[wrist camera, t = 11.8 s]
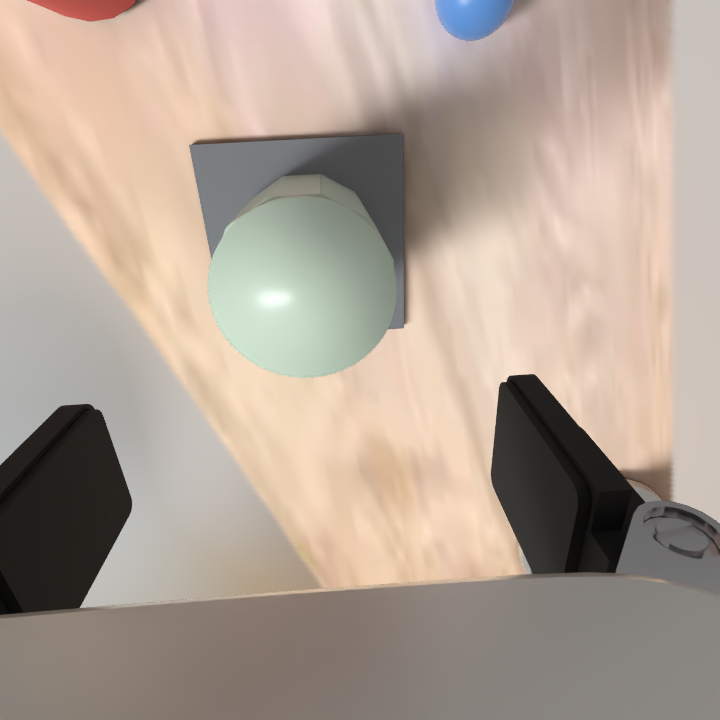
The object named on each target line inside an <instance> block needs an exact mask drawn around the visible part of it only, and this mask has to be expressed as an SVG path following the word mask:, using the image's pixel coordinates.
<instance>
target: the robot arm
mask: <svg viewBox="0 0 720 720" xmlns="http://www.w3.org/2000/svg"><path fill="white" fill-rule="evenodd" d="M491 479H492V484H493V487H494V490H495V492H496V494H497V496H498V499H499V501H500V503H501V505H502V507H503V510H504V512H505V514H506V516H507V518H508V521H509V523H510V525H511V527H512V529H513V532H514V534H515V536H516V538H517V540H518V555H519V559H520V562H521V564H522V566H523V568H524V570H525V572H526V574H522V575H509V576H495V577H478V578H462V579H448V580H434V581H420V582H407V583H393V584H379V585H365V586H351V587H337V588H324V589H311V590H298V591H286V592H273V593H261V594H247V595H234V596H221V597H209V598H197V599H183V600H171V601H160V602H147V603H137V604H136V603H135V604H124V605H112V606H100V607H88V608H80V606H81V604H82V602H83V601H84V599H85V597H86V595H87V593H88V591H89V589H90V588H91V586H92V584H93V582H94V580H95V578H96V576H97V575H98V573H99V571H100V569H101V567H102V565H103V563H104V562H105V560H106V558H107V556H108V554H109V552H110V550H111V549H112V547H113V545H114V543H115V541H116V539H117V537H118V536H119V534H120V532H121V530H122V528H123V526H124V524H125V522H126V521H127V519H128V517H129V515H130V513H131V509H132V499H131V496H130V493H129V490H128V487H127V484H126V481H125V478H124V475H123V472H122V469H121V466H120V464H119V461H118V458H117V455H116V452H115V449H114V446H113V443H112V440H111V437H110V434H109V432H108V429H107V426H106V423H105V420H104V417H103V415H102V413H101V412H100V410H95V409H94V407H93V406H92V405H90V404H81V405H65V406H61V407H59V408H58V409H57V410H56V411H55V412H54V413H53V414H52V415H51V416H50V417H49V418H48V419H47V420H46V421H45V422H44V423H43V424H42V425H41V426H40V427H39V428H38V429H37V430H36V431H35V432H34V433H33V434H32V435H30V437H29V438H27V439H26V440H25V441H24V442H23V443H22V444H21V445H20V446H19V447H18V448H17V449H16V450H15V451H14V452H13V453H12V454H11V455H10V456H9V457H8V458H7V459H6V460H5V461H4V462H3V463H2V464H1V465H0V720H720V524H719V523H718V522H717V521H716V520H714V519H713V518H711V517H709V516H708V515H706V514H705V513H703V512H701V511H699V510H696V509H694V508H691V507H689V506H687V505H683V504H679V503H676V502H671V501H662V499H661V498H660V497H659V496H658V495H657V494H656V493H655V492H654V491H653V490H652V489H651V488H649V487H647V486H645V485H644V484H642V483H639V482H636V481H632V480H629V479H625V478H624V476H623V475H622V474H621V473H620V472H619V471H618V469H617V468H616V467H615V466H614V465H613V464H612V462H611V461H610V460H609V459H608V458H607V456H606V455H605V454H604V453H603V452H602V451H601V449H600V448H599V447H598V446H597V445H596V444H595V442H594V441H593V440H592V439H591V438H590V437H589V435H588V434H587V433H586V432H585V431H584V430H583V429H582V428H581V427H579V426H578V424H577V423H576V422H575V421H574V420H573V419H572V417H571V416H570V415H569V414H568V413H567V411H566V410H565V409H564V408H563V407H562V406H561V404H560V403H559V402H558V401H557V400H556V399H555V397H554V396H553V395H552V394H551V393H550V391H549V390H548V389H547V388H546V387H545V386H544V384H543V383H542V382H541V381H540V380H539V378H538V377H537V376H536V375H534V374H529V375H514V376H509V377H508V379H507V382H502V383H501V384H500V387H499V396H498V406H497V416H496V426H495V437H494V447H493V457H492V468H491Z"/></svg>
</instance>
